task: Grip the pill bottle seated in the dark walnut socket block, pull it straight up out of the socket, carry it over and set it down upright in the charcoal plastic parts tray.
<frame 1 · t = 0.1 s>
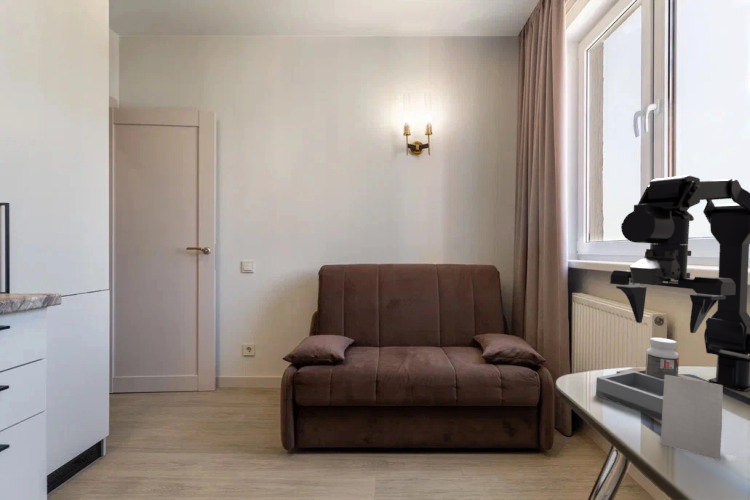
hand: (664, 327, 76), 15 cm above the table, tool pointing down, fingers open, 9 cm apart
upright grey panel: (688, 448, 60), on the table
parts tray: (645, 401, 77), on the table
socket block: (660, 385, 87), on the table
pill bottle: (660, 386, 87), resting in socket block
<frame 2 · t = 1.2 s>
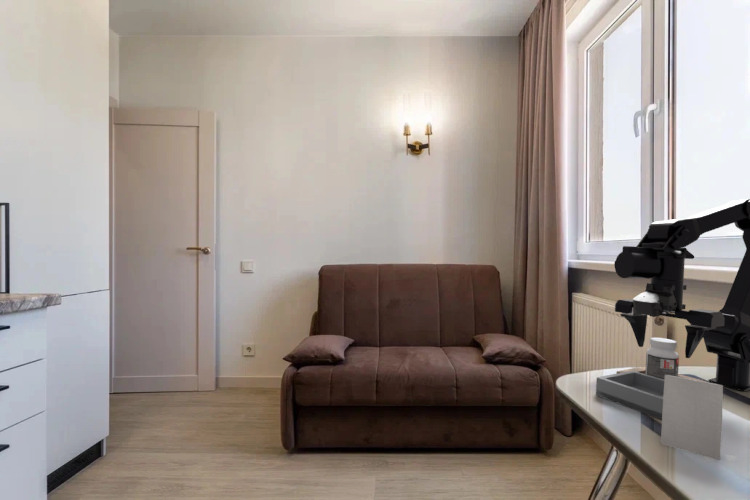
hand: (663, 352, 87), 7 cm above the table, tool pointing down, fingers open, 9 cm apart
nothing on the table moved.
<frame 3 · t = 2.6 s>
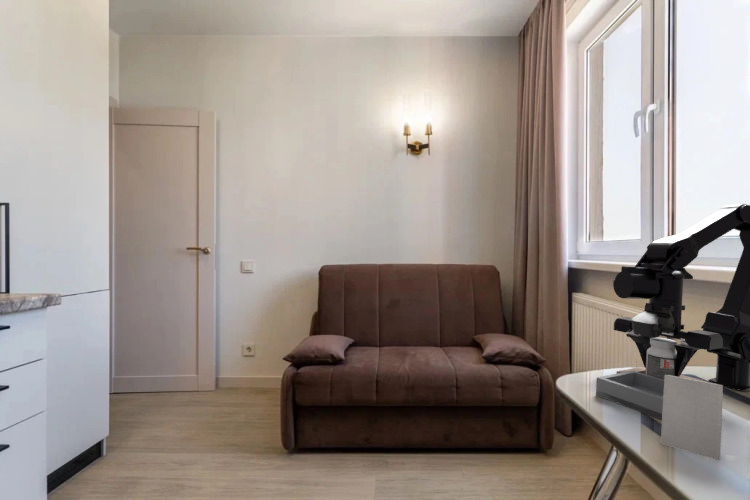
hand: (661, 371, 87), 3 cm above the table, tool pointing down, fingers closed on pill bottle, 6 cm apart
pill bottle: (660, 386, 87), resting in socket block, touching gripper
everything else where it was.
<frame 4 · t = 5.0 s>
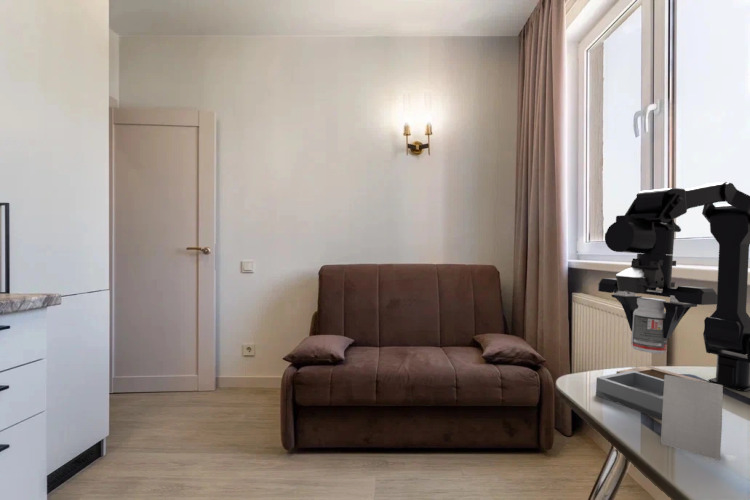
hand: (649, 334, 78), 13 cm above the table, tool pointing down, fingers closed on pill bottle, 6 cm apart
pill bottle: (648, 351, 78), point 9 cm above the table, touching gripper
everything else where it was.
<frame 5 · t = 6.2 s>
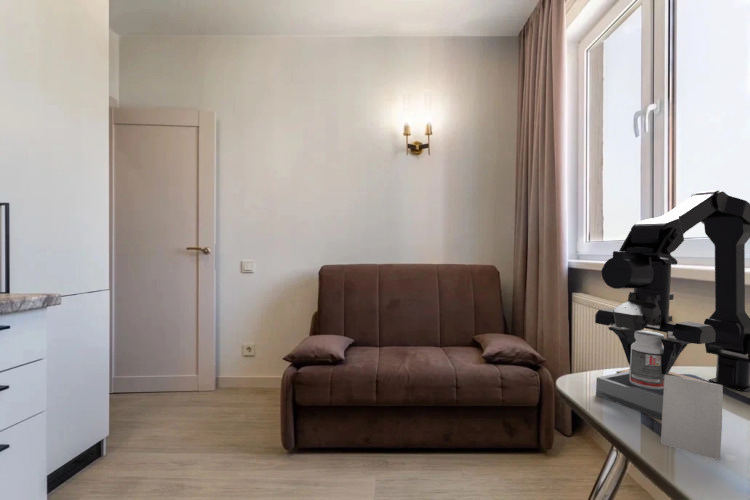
hand: (647, 369, 77), 6 cm above the table, tool pointing down, fingers closed on pill bottle, 6 cm apart
pill bottle: (646, 386, 77), point 3 cm above the table, touching gripper
everything else where it was.
when the fingers open (5 cm above the table, at t = 7.3 s): pill bottle stays where it is, resting on parts tray.
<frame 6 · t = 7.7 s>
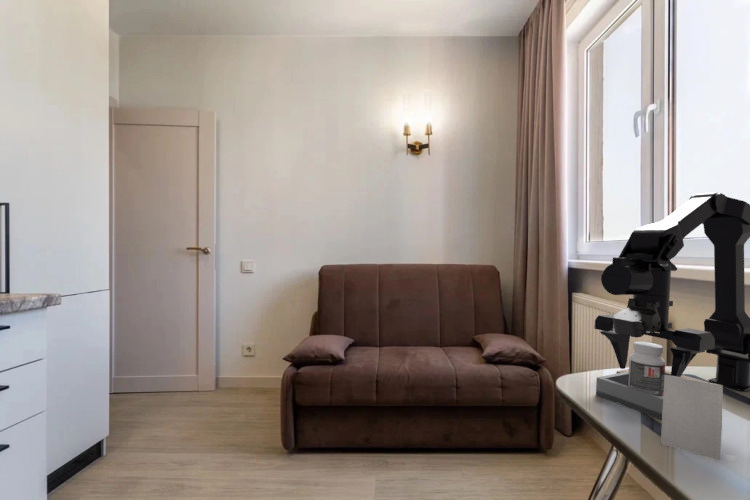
hand: (646, 375, 77), 5 cm above the table, tool pointing down, fingers open, 9 cm apart
pill bottle: (645, 397, 77), point 1 cm above the table, touching parts tray
everything else where it was.
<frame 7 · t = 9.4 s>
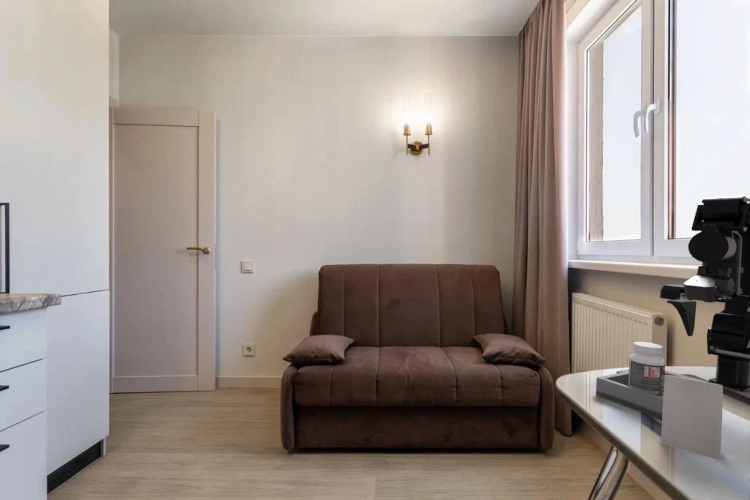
hand: (717, 341, 79), 12 cm above the table, tool pointing down, fingers open, 9 cm apart
nothing on the table moved.
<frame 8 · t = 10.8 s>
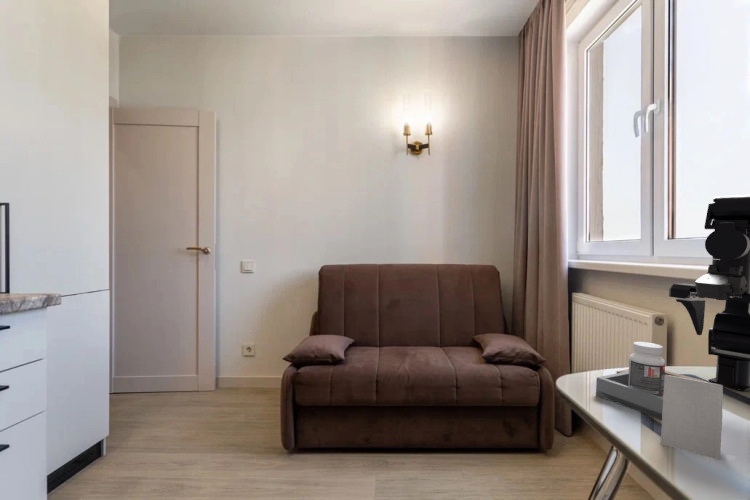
hand: (726, 340, 79), 12 cm above the table, tool pointing down, fingers open, 9 cm apart
nothing on the table moved.
at the end: pill bottle 0.1 cm off-centre on the parts tray, point 0.8 cm above the parts tray's base; pill bottle tilted 0°; the gripper is holding nothing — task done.
